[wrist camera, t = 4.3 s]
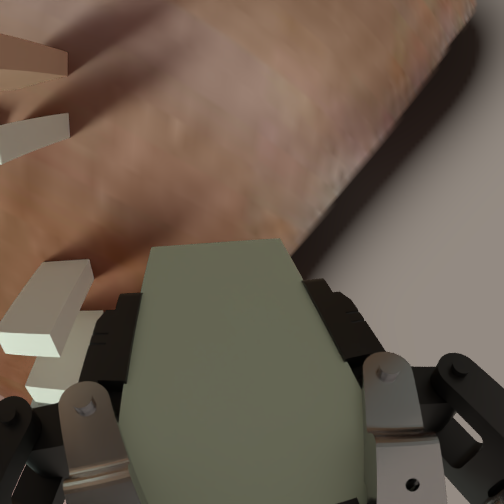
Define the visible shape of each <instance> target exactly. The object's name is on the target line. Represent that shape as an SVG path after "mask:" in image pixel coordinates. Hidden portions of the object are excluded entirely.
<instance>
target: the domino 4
mask: <svg viewBox="0 0 504 504" xmlns="http://www.w3.org/2000/svg"><path fill="white" fill-rule="evenodd" d="M302 280H303V279H302V277H301V275H300V273H299V272H298V270H297V268H296V266H295V265H294V263H293V261H292V259H291V257H290V255H289V254H288V252H287V250H286V248H285V247H284V245H283V243H282V241H281V239H280V238H278V239H262V240H247V241H232V242H217V243H202V244H188V245H174V246H160V247H151V251H150V255H149V259H148V263H147V267H146V271H145V275H144V280H143V284H142V289H141V293H143V294H142V299H141V304H140V309H139V314H138V320H137V325H136V330H135V336H134V342H133V347H132V353H131V360H130V366H129V373H128V380H127V384H124V385H123V392H122V399H121V407H120V415H119V426H120V429H121V433H122V436H123V439H124V442H125V445H126V448H127V451H128V453H129V456H130V459H131V462H132V464H133V467H134V470H135V472H136V475H137V478H138V480H139V483H140V485H141V488H142V490H143V492H144V495H145V497H146V499H147V502H148V504H337V503H340V502H344V501H347V500H350V499H353V498H356V497H357V499H358V502H359V504H367V489H366V485H365V483H364V435H363V409H362V390H361V388H360V386H359V384H358V382H357V380H356V378H355V376H354V374H353V372H352V370H351V368H350V366H349V364H348V363H347V362H344V361H343V359H342V357H341V355H340V354H339V352H338V350H337V348H336V346H335V344H334V342H333V340H332V338H331V336H330V334H329V332H328V330H327V329H326V327H325V325H324V323H323V321H322V319H321V317H320V315H319V313H318V311H317V310H316V308H315V306H314V304H313V302H312V300H311V298H310V296H309V295H308V293H307V291H306V289H305V287H304V285H303V283H302Z"/></svg>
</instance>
